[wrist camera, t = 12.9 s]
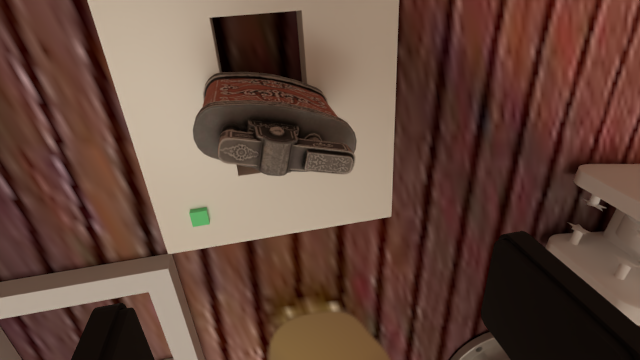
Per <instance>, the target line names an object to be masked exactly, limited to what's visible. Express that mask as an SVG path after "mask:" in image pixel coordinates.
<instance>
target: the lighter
mask: <svg viewBox="0 0 640 360" xmlns="http://www.w3.org/2000/svg"><path fill="white" fill-rule="evenodd" d="M203 100H204V103H203V107H202V108H201V109H200V111H199V112H198V114H197V115H196V118H195V122H194V126H193V138H194V141H195V143H196V145H197V147H198V149H199V150H200V151H201V152H202V153H203V154H205V155H207V156H209V157H211V158H215V159H218V160H220V161H222V162H224V163H227V164H236V165H240V166H246V167H252V168H254V169H256V170H258V171H260V172H261V173H263V174H266V175H271V176H284V175H286V174H287V173H290V172H321V173H331V174H348V173H350V172H351V171H352V170H353V167H354V164H355V155H354V152H355V150H356V142H357V140H356V136H355V132H354V131H353V129H352V128H351V126H350V125H349V124H348V123H347V122H346V121H344V120H343V119H341V118H339V117H338V116H337V115H336V114H335V112H334V111H333V110H332V109H331V107H330V106H329V105H328V101H327V98H326V97H325V95H324V94H323V93H322V91H321V90H319V89H318V88H316V87H314V86H311V85H308V84H305V83H303V82H300V81H297V80H294V79H290V78H286V77H282V76H277V75H273V74H265V73H254V72H221V73H217V74H214V75H213V76H211V77H210V78H209V79H208V81H207V82H206V84H205V87H204V92H203Z"/></svg>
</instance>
